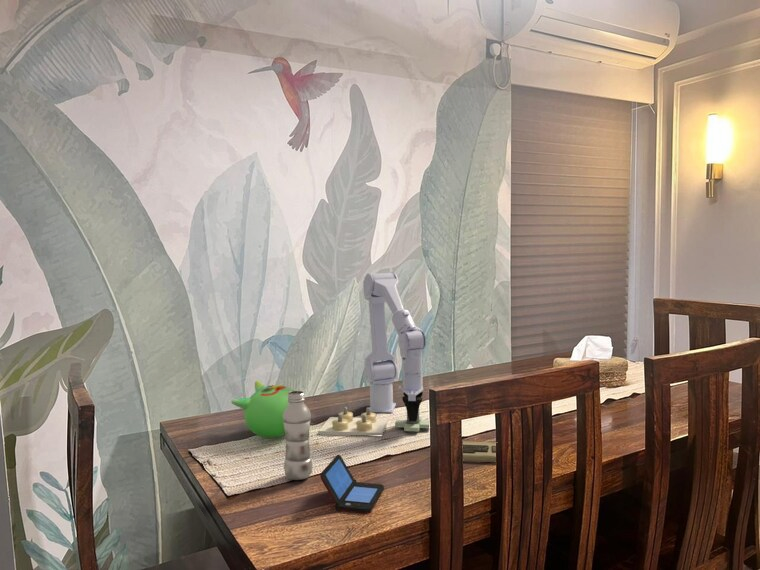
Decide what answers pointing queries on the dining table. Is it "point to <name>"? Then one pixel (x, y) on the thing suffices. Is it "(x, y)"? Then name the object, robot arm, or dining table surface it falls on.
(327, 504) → the dining table surface
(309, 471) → the plastic bottle
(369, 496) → the handheld game console
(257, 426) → the round green creature toy
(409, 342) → the robot arm
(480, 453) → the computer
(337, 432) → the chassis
